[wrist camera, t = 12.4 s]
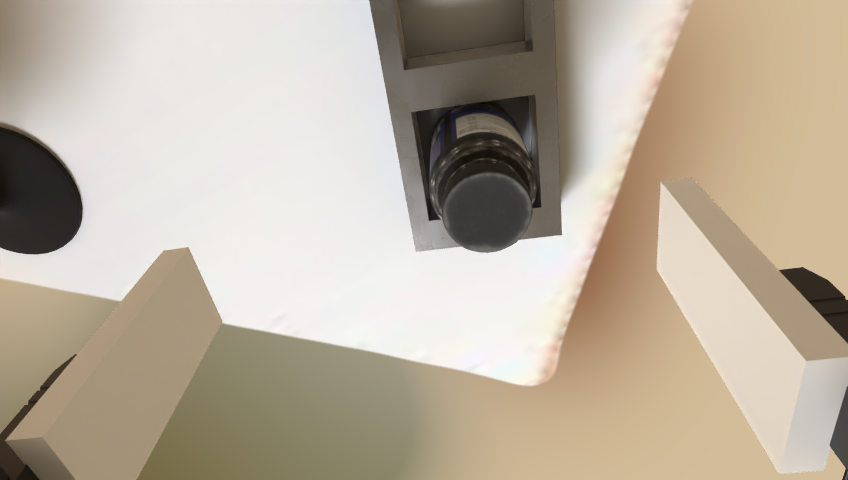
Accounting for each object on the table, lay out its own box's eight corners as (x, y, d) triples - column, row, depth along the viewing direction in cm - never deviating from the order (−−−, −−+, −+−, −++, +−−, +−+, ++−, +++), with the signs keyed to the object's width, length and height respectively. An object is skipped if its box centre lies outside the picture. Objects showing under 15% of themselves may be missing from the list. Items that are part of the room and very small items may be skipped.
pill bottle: (472, 200, 40) (482, 285, 30) (412, 142, 38) (402, 214, 28) (538, 142, 38) (571, 215, 28) (478, 78, 36) (491, 133, 26)
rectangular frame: (356, -118, 30) (346, -123, 27) (537, -152, 29) (548, -161, 26) (417, 228, 41) (415, 251, 38) (552, 211, 40) (561, 234, 37)
